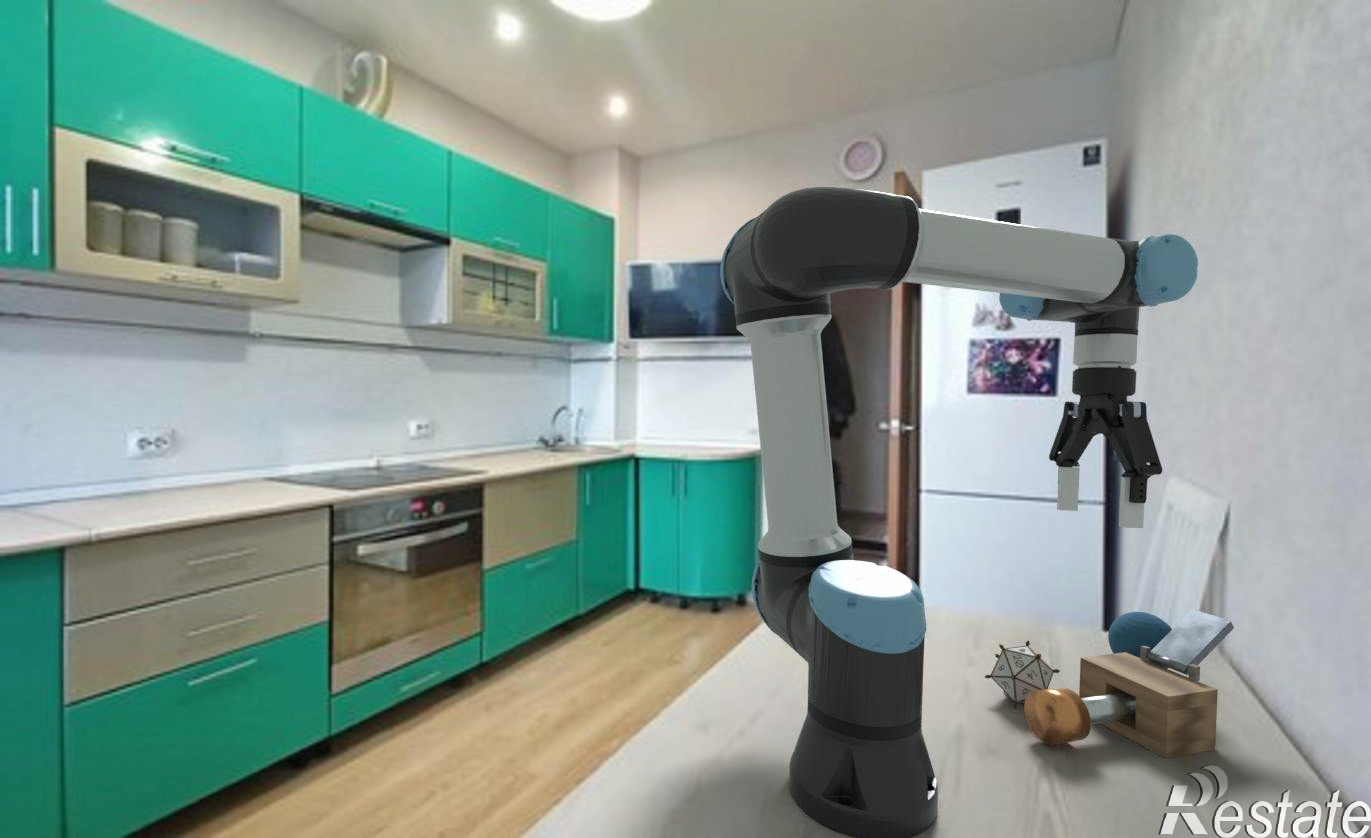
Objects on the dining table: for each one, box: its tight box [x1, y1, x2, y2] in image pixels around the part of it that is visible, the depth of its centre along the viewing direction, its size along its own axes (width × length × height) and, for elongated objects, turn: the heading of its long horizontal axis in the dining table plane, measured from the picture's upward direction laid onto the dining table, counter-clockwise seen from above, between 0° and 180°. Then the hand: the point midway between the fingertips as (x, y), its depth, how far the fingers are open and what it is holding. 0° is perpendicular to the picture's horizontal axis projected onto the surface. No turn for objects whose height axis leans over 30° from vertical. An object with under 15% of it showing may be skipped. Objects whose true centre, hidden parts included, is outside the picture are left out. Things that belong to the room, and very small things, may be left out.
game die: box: [984, 640, 1061, 710], centre depth 91 cm, size 9×8×10 cm
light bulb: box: [1107, 611, 1173, 670], centre depth 93 cm, size 8×8×12 cm
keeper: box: [1148, 609, 1235, 676], centre depth 86 cm, size 10×5×1 cm
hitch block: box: [1078, 646, 1219, 759], centre depth 84 cm, size 8×12×9 cm
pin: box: [1023, 687, 1136, 746], centre depth 81 cm, size 16×6×6 cm, turn 106°
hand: (1096, 518), depth 91 cm, fingers open, 13 cm apart
